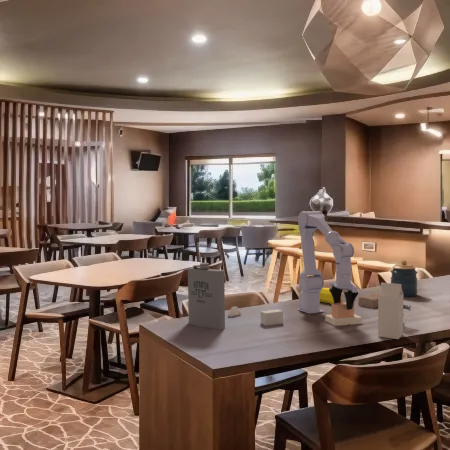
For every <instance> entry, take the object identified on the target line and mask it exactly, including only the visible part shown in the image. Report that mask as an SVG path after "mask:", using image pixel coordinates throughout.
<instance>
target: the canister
mask: <svg viewBox="0 0 450 450" xmlns="http://www.w3.org/2000/svg"><path fill="white" fill-rule="evenodd" d="M416 268H417V267H416V266H414V264H410V263H407V260H401V263H396V264H394V265H393V266H392V270H390V273H391V277H390V283H392V284H401V288H402V291H403V296H405V297H404V298H411V297H416V296H418V277H417V274H418V271H417V270H416Z"/></svg>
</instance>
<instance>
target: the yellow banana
mask: <svg viewBox="0 0 450 450" xmlns="http://www.w3.org/2000/svg"><path fill="white" fill-rule="evenodd" d="M329 289H331V287H323V288H322V289H321V291H320V303H325V304H328V303H329V305H332V304H334V300H333V297H332V294H331V292H330V291H329ZM341 303H343V299H342V297H341Z"/></svg>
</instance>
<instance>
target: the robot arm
mask: <svg viewBox="0 0 450 450" xmlns="http://www.w3.org/2000/svg"><path fill="white" fill-rule="evenodd" d="M325 218H326V216H325V214H323V212H322V211H321V210H317V211H316V210H315V211H309V210H308V211H304V210H303V211H300V213H299V214H298V217H297V222H298V223H297V224H298V230H299V233H300V243H301V251H302V261H303V270H302V271H301V272H300V273H299V274H298V275H299V281H298V286H299V289H300V290H301V291H300V292H299V294H298V308H296V309H297V310H298V311H301V312H304V313H306V314H309V315H310V314H317V313H324V312H325V310H323V309H321V306H320V305H321V302H320V291H321V289H322V288H324V287H325V281H324V279H323V275H322V272H321V271H320V270H318V268H317V262H316V252H315V244H314V235H313V233H314V232H315V231H316V230H319V231H320V232H321V233H322V234H323V235H324V236H325V242H326V243H327V244H328V245H329V246H330V248H331V249H332V255H333V257H334V262H335V281H330V284H329V288H330V289H329V291H330V292H331V294H332V297H333V300H334V304H335V303H342V302H341V298H342V293H343V294H344V298H345V302H346V306H347V310H350V309H352V308H353V304H354V305H355V301H356V299H357V296H358V295H359V292H358V287H357V286H355V285H352V278H351V276H352V257H353V256H354V254H355V248H354V246H353V244H352V243H350V242H347V241H345V240H344V239H343V238H342V236H341V235H340V234H339V232H338V231H336V230H333V229H332V228H331V227H330V225H329V224H328V223H327V221H326V220H325Z"/></svg>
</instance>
